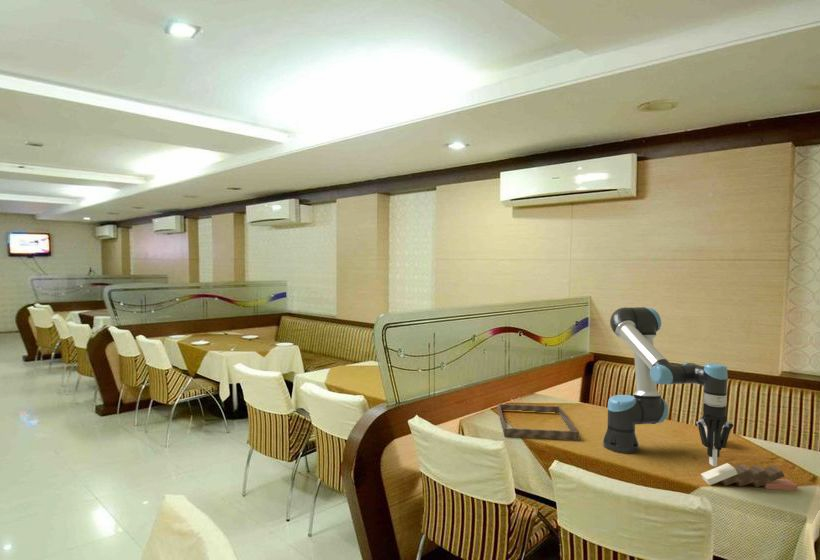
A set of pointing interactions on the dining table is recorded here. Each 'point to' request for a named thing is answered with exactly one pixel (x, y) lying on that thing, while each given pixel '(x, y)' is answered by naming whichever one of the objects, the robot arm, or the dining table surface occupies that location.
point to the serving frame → (537, 433)
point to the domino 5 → (781, 484)
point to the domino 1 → (719, 474)
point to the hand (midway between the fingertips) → (713, 464)
